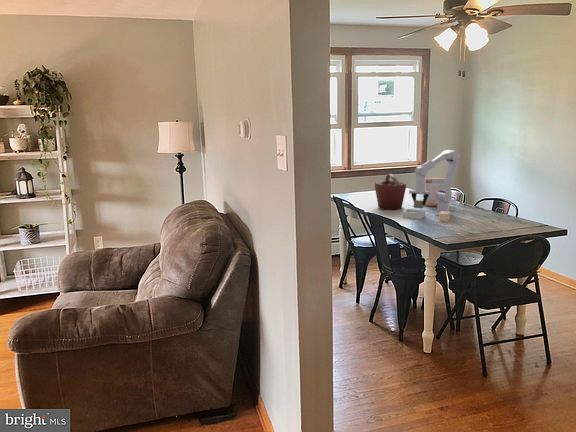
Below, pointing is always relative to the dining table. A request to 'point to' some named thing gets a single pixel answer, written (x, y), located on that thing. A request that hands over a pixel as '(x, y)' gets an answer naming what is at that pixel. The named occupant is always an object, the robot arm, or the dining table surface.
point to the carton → (444, 216)
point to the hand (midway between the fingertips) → (419, 204)
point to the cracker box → (433, 189)
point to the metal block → (418, 203)
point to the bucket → (390, 193)
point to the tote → (413, 213)
